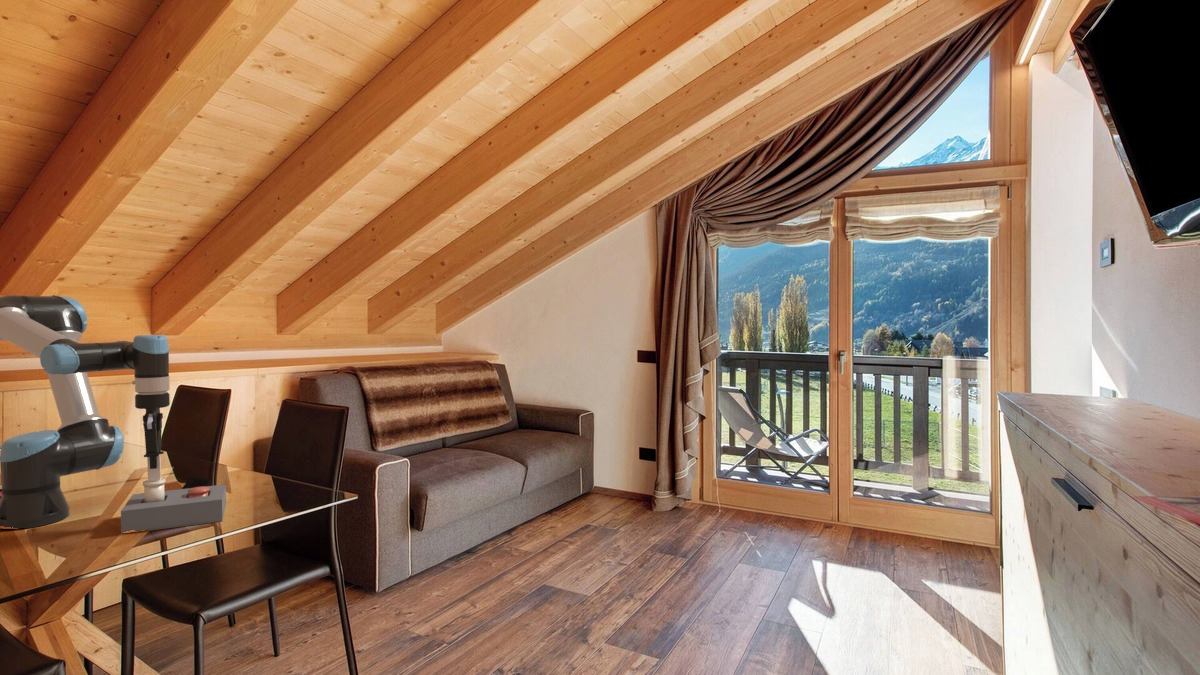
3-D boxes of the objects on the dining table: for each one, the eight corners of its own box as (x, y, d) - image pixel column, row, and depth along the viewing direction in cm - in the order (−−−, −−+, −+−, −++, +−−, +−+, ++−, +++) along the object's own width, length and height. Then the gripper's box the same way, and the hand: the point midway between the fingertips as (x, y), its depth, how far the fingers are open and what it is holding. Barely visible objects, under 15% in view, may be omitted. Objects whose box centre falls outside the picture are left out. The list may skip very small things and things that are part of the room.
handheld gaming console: (152, 496, 184) (175, 466, 189) (170, 505, 190) (192, 475, 195) (179, 506, 180) (202, 475, 185) (197, 515, 186) (218, 484, 191)
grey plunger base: (133, 515, 172) (132, 494, 171) (225, 504, 182) (225, 484, 182) (121, 534, 158) (120, 511, 157) (222, 521, 168) (222, 499, 168)
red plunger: (189, 511, 173) (188, 487, 173) (210, 509, 176) (209, 485, 175) (187, 517, 169) (186, 492, 169) (208, 514, 171) (208, 490, 171)
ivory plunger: (145, 504, 168) (144, 479, 168) (167, 502, 171) (166, 477, 170) (141, 509, 164) (141, 484, 164) (164, 507, 166) (164, 482, 166)
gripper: (139, 390, 170) (141, 475, 171) (130, 396, 158) (132, 487, 159) (172, 389, 173) (174, 472, 174) (165, 394, 162) (168, 483, 163)
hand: (154, 479), depth 167 cm, fingers closed
